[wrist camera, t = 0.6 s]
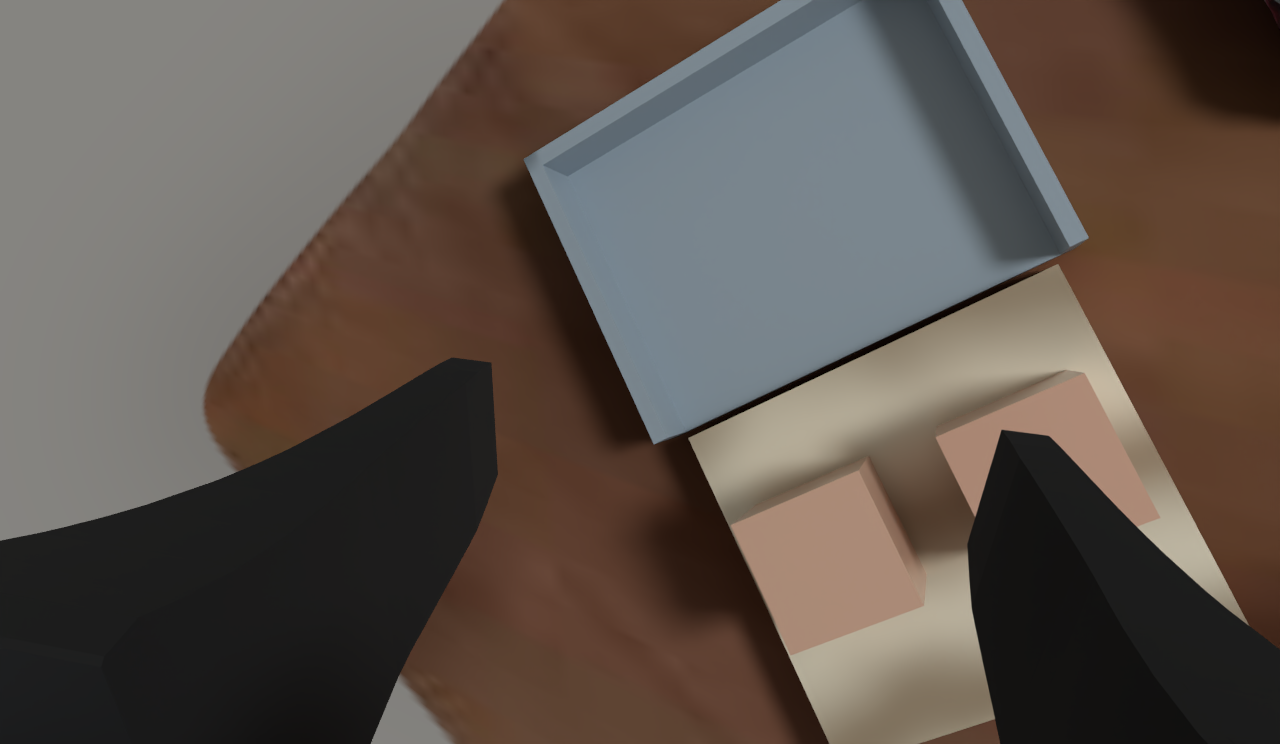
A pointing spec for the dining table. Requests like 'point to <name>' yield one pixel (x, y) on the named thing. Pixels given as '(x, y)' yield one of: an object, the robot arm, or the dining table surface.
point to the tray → (798, 199)
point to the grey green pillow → (1274, 9)
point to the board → (930, 495)
